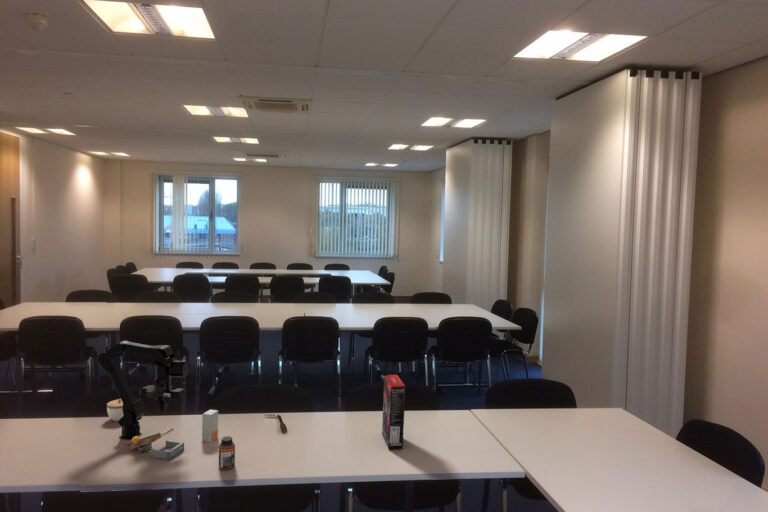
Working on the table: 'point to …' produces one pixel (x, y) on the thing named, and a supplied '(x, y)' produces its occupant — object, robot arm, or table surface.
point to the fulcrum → (144, 448)
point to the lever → (148, 439)
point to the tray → (168, 450)
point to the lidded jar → (115, 409)
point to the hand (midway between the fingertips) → (163, 411)
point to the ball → (135, 439)
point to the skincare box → (210, 425)
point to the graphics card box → (393, 411)
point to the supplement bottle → (226, 453)
